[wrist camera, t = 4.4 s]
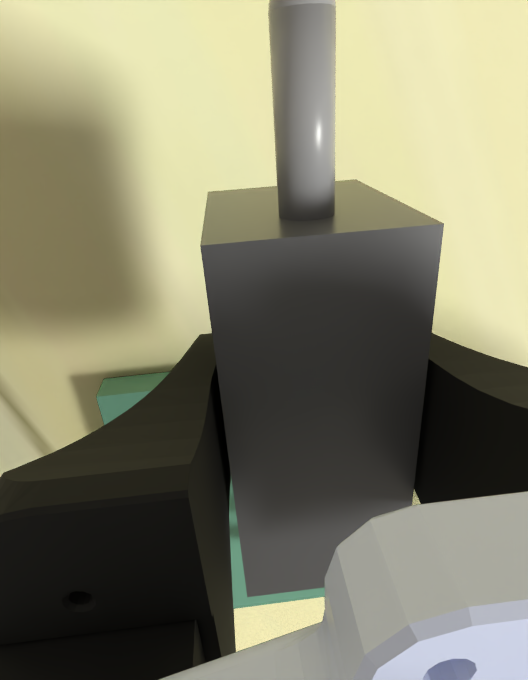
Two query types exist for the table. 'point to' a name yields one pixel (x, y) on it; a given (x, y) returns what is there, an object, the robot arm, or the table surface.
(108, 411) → the header board
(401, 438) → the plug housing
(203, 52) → the table surface
